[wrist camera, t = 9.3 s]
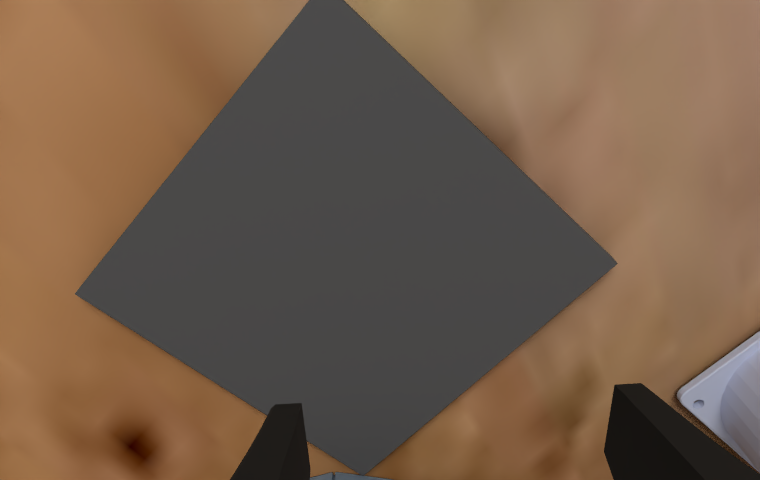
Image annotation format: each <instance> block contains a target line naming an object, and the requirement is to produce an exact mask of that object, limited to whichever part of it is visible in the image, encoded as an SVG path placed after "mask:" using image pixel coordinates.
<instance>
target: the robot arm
mask: <svg viewBox="0 0 760 480" xmlns="http://www.w3.org/2000/svg"><path fill="white" fill-rule="evenodd" d="M677 398H678V399H679V401H680V402H681V404H682V405H683V406H684V407H685V408H687V409H688V410H689V411H690V412H691V413H692V414H693V415H695V416H696V417H697V418H698V419H699V420H700V421H701V422H702V423H704V424H705V425H706V426H707V427H708V428H709V429H710V430H712V431H713V432H714V433H715V434H716V435H717V436H718V437H719V438H721V439H722V440H723V441H724V442H725V443H726V444H727V445H729V446H730V447H731V448H732V449H733V450H734V451H735V452H736V453H738V454H739V455H740V456H741V457H742V458H743V459H744V460H746V461H747V462H748V463H749V464H750V465H751V466H752V467H753V468H755V469H756V470H757V471H758V472H759V473H760V331H759V332H757V333H756V334H755V335H753V336H752V337H751V338H749V339H748V340H746V341H745V342H744V343H742V344H741V345H739V346H738V347H737V348H735V349H734V350H733V351H731V352H730V353H728V354H727V355H726V356H724V357H723V358H722V359H720V360H719V361H717V362H716V363H715V364H713V365H712V366H711V367H709V368H708V369H706V370H705V371H704V372H702V373H701V374H700V375H698V376H697V377H695V378H694V379H693V380H691V381H690V382H689V383H687V384H686V385H684V386H683V387H682V388H681V389H680V390H679V391H678V393H677ZM697 400H698V401H697ZM695 401H697V402H695ZM694 402H695V403H694ZM604 453H605V456H606V459H607V462H608V465H609V467H610V470H611V473H612V476H613V479H614V480H760V474H758V473H757V472H756V471H754V470H753V469H751V468H750V467H748V466H747V465H746V464H744V463H743V462H741V461H740V460H739V459H737V458H736V457H734V456H733V455H732V454H730V453H729V452H728V451H726V450H725V449H724V448H722V447H721V446H720V445H718V444H717V443H716V442H714V441H713V440H712V439H711V438H709V437H708V436H707V435H705V434H704V433H703V432H702V431H700V430H699V429H698V428H696V427H695V426H694V425H693V424H691V423H690V422H689V421H688V420H686V419H685V418H684V417H683V416H681V415H680V414H679V413H678V412H676V411H675V410H674V409H673V408H672V407H670V406H669V405H668V404H667V403H665V402H664V401H663V400H662V399H660V398H659V397H658V396H657V395H655V394H654V393H653V392H652V391H650V390H649V389H648V388H647V387H645V386H644V385H643V384H641V383H637V384H620V385H615V386H614V392H613V398H612V404H611V411H610V417H609V423H608V430H607V436H606V442H605V448H604ZM230 480H310V462H309V455H308V447H307V440H306V432H305V425H304V417H303V410H302V403H291V404H275V405H274V406H273V407H272V408H271V409H270V411H269V413H268V415H267V418H266V419H265V421H264V423H263V425H262V427H261V429H260V431H259V433H258V435H257V436H256V438H255V440H254V442H253V443H252V445H251V447H250V449H249V450H248V452H247V454H246V455H245V457H244V458H243V460H242V462H241V463H240V465H239V466H238V468H237V470H236V471H235V473H234V474H233V476H232V477H231V479H230Z"/></svg>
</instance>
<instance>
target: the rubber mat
mask: <svg viewBox="0 0 760 480" xmlns="http://www.w3.org/2000/svg"><path fill="white" fill-rule="evenodd" d="M616 264H617V262H616V261H615V260H614V259H613V258H612V256H611V255H609V254H608V253H607V252H606V251H605V250H604V249H603V248H602V247H601V246H600V245H599V244H598V243H597V242H596V241H595V240H594V239H593V238H592V237H591V236H590V235H589V234H588V233H586V232H585V231H584V230H583V229H582V228H581V227H580V226H579V225H578V224H577V223H576V222H575V221H574V220H573V219H572V218H571V217H570V216H569V215H568V214H567V213H566V212H564V211H563V210H562V209H561V208H560V207H559V206H558V205H557V204H556V203H555V202H554V201H553V200H552V199H551V198H550V197H549V196H548V195H547V194H546V193H545V192H544V191H543V190H541V189H540V188H539V187H538V186H537V185H536V184H535V183H534V182H533V181H532V180H531V179H530V178H529V177H528V176H527V175H526V174H525V173H524V172H523V171H522V170H521V169H520V168H518V167H517V166H516V165H515V164H514V163H513V162H512V161H511V160H510V159H509V158H508V157H507V156H506V155H505V154H504V153H503V152H502V151H501V150H500V149H499V148H498V147H497V146H495V145H494V144H493V143H492V142H491V141H490V140H489V139H488V138H487V137H486V136H485V135H484V134H483V133H482V132H481V131H480V130H479V129H478V128H477V127H476V126H475V125H474V124H472V123H471V122H470V121H469V120H468V119H467V118H466V117H465V116H464V115H463V114H462V113H461V112H460V111H459V110H458V109H457V108H456V107H455V106H454V105H453V104H452V103H451V102H449V101H448V100H447V99H446V98H445V97H444V96H443V95H442V94H441V93H440V92H439V91H438V90H437V89H436V88H435V87H434V86H433V85H432V84H431V83H430V82H429V81H428V80H426V79H425V78H424V77H423V76H422V75H421V74H420V73H419V72H418V71H417V70H416V69H415V68H414V67H413V66H412V65H411V64H410V63H409V62H408V61H407V60H406V59H405V58H403V57H402V56H401V55H400V54H399V53H398V52H397V51H396V50H395V49H394V48H393V47H392V46H391V45H390V44H389V43H388V42H387V41H386V40H385V39H384V38H383V37H382V36H380V35H379V34H378V33H377V32H376V31H375V30H374V29H373V28H372V27H371V26H370V25H369V24H368V23H367V22H366V21H365V20H364V19H363V18H362V17H361V16H360V15H359V14H357V13H356V12H355V11H354V10H353V9H352V8H351V7H350V6H349V5H348V4H347V3H346V2H345V1H344V0H309V2H308V3H307V4H306V5H305V7H304V8H303V9H302V10H301V12H300V13H299V14H298V15H297V17H296V18H295V19H294V20H293V22H292V23H291V24H290V25H289V27H288V28H287V29H286V30H285V32H284V33H283V34H282V35H281V37H280V38H279V39H278V40H277V42H276V43H275V44H274V45H273V47H272V48H271V49H270V50H269V52H268V53H267V54H266V55H265V57H264V58H263V59H262V60H261V62H260V63H259V64H258V65H257V67H256V68H255V69H254V70H253V72H252V73H251V74H250V75H249V77H248V78H247V79H246V80H245V82H244V83H243V84H242V85H241V87H240V88H239V89H238V90H237V92H236V93H235V94H234V95H233V97H232V98H231V99H230V100H229V102H228V103H227V104H226V105H225V107H224V108H223V109H222V110H221V112H220V113H219V114H218V115H217V117H216V118H215V119H214V120H213V122H212V123H211V124H210V125H209V127H208V128H207V129H206V130H205V132H204V133H203V134H202V135H201V137H200V138H199V139H198V140H197V142H196V143H195V144H194V145H193V147H192V148H191V149H190V150H189V152H188V153H187V154H186V155H185V157H184V158H183V159H182V160H181V162H180V163H179V164H178V165H177V167H176V168H175V169H174V170H173V172H172V173H171V174H170V175H169V177H168V178H167V179H166V180H165V182H164V183H163V184H162V185H161V187H160V188H159V189H158V190H157V192H156V193H155V194H154V195H153V197H152V198H151V199H150V200H149V202H148V203H147V204H146V205H145V207H144V208H143V209H142V210H141V212H140V213H139V214H138V215H137V217H136V218H135V219H134V220H133V222H132V223H131V224H130V225H129V227H128V228H127V229H126V230H125V232H124V233H123V234H122V235H121V237H120V238H119V239H118V240H117V242H116V243H115V244H114V245H113V247H112V248H111V249H110V250H109V252H108V253H107V254H106V255H105V257H104V258H103V259H102V260H101V262H100V263H99V264H98V265H97V267H96V268H95V269H94V270H93V272H92V273H91V274H90V275H89V277H88V278H87V279H86V280H85V282H84V283H83V284H82V285H81V287H80V288H79V289H78V290H77V292H76V293H75V294H76V295H77V296H79V297H80V298H82V299H83V300H85V301H87V302H88V303H90V304H91V305H93V306H95V307H96V308H98V309H99V310H101V311H102V312H104V313H106V314H107V315H109V316H110V317H112V318H114V319H115V320H117V321H118V322H120V323H121V324H123V325H125V326H126V327H128V328H129V329H131V330H133V331H134V332H136V333H137V334H139V335H140V336H142V337H144V338H145V339H147V340H148V341H150V342H152V343H153V344H155V345H156V346H158V347H159V348H161V349H163V350H164V351H166V352H167V353H169V354H171V355H172V356H174V357H175V358H177V359H178V360H180V361H182V362H183V363H185V364H186V365H188V366H190V367H191V368H193V369H194V370H196V371H197V372H199V373H201V374H202V375H204V376H205V377H207V378H209V379H210V380H212V381H213V382H215V383H216V384H218V385H220V386H221V387H223V388H224V389H226V390H228V391H229V392H231V393H232V394H234V395H235V396H237V397H239V398H240V399H242V400H243V401H245V402H247V403H248V404H250V405H251V406H253V407H254V408H256V409H258V410H259V411H261V412H262V413H264V414H266V415H268V413H269V411H270V409H271V408H272V407H273V406H274V405H275V404H291V403H302V410H303V417H304V425H305V432H306V440H307V441H308V442H310V443H311V444H313V445H315V446H316V447H318V448H319V449H321V450H323V451H324V452H326V453H327V454H329V455H330V456H332V457H334V458H335V459H337V460H338V461H340V462H342V463H343V464H345V465H346V466H348V467H349V468H351V469H353V470H354V471H356V472H357V473H359V474H361V475H362V476H364V475H365V474H366V473H367V472H369V471H370V470H371V469H372V468H373V467H375V466H376V465H377V464H378V463H379V462H381V461H382V460H383V459H384V458H385V457H387V456H388V455H389V454H390V453H391V452H392V451H394V450H395V449H396V448H397V447H398V446H400V445H401V444H402V443H403V442H404V441H406V440H407V439H408V438H409V437H410V436H412V435H413V434H414V433H415V432H416V431H418V430H419V429H420V428H421V427H422V426H424V425H425V424H426V423H427V422H428V421H430V420H431V419H432V418H433V417H434V416H436V415H437V414H438V413H439V412H440V411H442V410H443V409H444V408H445V407H446V406H448V405H449V404H450V403H451V402H452V401H454V400H455V399H456V398H457V397H458V396H460V395H461V394H462V393H463V392H464V391H466V390H467V389H468V388H469V387H470V386H472V385H473V384H474V383H475V382H476V381H478V380H479V379H480V378H481V377H482V376H484V375H485V374H486V373H487V372H488V371H489V370H491V369H492V368H493V367H494V366H495V365H497V364H498V363H499V362H500V361H501V360H503V359H504V358H505V357H506V356H507V355H509V354H510V353H511V352H512V351H513V350H515V349H516V348H517V347H518V346H519V345H521V344H522V343H523V342H524V341H525V340H527V339H528V338H529V337H530V336H531V335H533V334H534V333H535V332H536V331H537V330H539V329H540V328H541V327H542V326H543V325H545V324H546V323H547V322H548V321H549V320H551V319H552V318H553V317H554V316H555V315H557V314H558V313H559V312H560V311H561V310H563V309H564V308H565V307H566V306H567V305H569V304H570V303H571V302H572V301H573V300H575V299H576V298H577V297H578V296H579V295H581V294H582V293H583V292H584V291H585V290H587V289H588V288H589V287H590V286H591V285H592V284H594V283H595V282H596V281H597V280H598V279H600V278H601V277H602V276H603V275H604V274H606V273H607V272H608V271H609V270H610V269H612V268H613V267H614V266H615V265H616Z"/></svg>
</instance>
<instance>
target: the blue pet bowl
mask: <svg viewBox="0 0 760 480" xmlns="http://www.w3.org/2000/svg"><path fill="white" fill-rule="evenodd" d="M310 480H392V479H384V478H377V477H369V476H362V475H354V474H347V473H339V472H335V475H333V473H332V472H331V473H327V474H323V475H319V476H316V477H312V478H310Z"/></svg>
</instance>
